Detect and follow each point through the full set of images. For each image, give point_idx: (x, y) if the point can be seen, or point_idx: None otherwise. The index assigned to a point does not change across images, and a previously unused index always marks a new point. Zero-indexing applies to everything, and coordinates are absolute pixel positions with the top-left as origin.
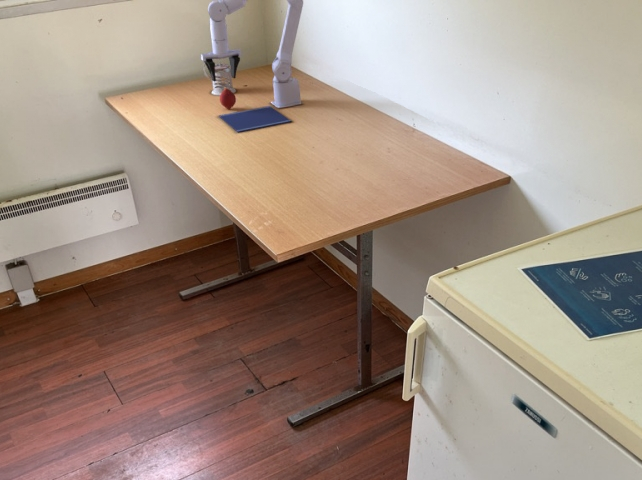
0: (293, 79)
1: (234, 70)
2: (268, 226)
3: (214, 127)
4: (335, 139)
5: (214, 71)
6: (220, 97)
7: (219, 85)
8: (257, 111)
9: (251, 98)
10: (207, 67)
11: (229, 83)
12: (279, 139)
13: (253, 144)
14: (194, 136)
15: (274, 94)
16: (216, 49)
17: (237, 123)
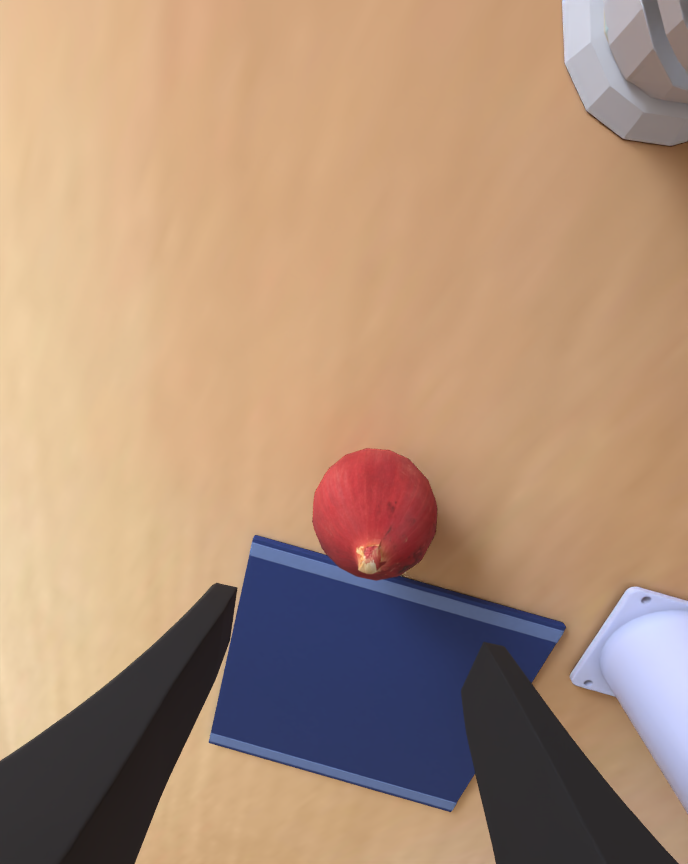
0: None
1: (495, 835)
2: None
3: (160, 631)
4: None
5: (151, 804)
6: (314, 510)
7: (666, 2)
8: (447, 640)
9: (654, 403)
10: (40, 750)
11: None
12: (290, 858)
13: (196, 829)
14: (43, 647)
15: (650, 696)
16: None
17: (260, 684)
